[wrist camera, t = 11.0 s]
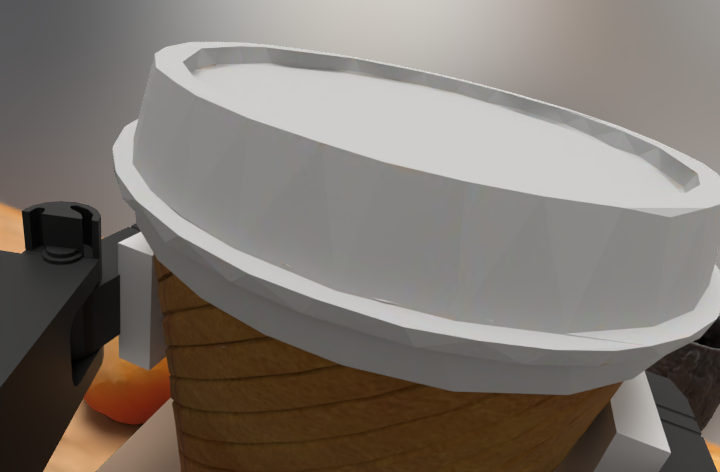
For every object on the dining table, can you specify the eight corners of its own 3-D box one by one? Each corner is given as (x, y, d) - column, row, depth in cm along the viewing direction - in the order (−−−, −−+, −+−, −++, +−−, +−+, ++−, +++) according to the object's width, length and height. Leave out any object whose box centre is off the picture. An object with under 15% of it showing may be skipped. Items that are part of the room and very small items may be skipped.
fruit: (255, 418, 28) (185, 321, 24) (125, 477, 28) (31, 389, 24) (246, 329, 35) (190, 242, 31) (142, 376, 35) (71, 293, 30)
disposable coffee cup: (436, 419, 18) (553, 93, 13) (565, 786, 10) (1016, 282, 5) (166, 407, 16) (183, 20, 11) (42, 855, 8) (-108, 125, 3)
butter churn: (448, 546, 25) (739, -85, 13) (487, 427, 34) (689, -34, 21) (637, 657, 23) (1221, -18, 11) (629, 497, 31) (955, 12, 19)
